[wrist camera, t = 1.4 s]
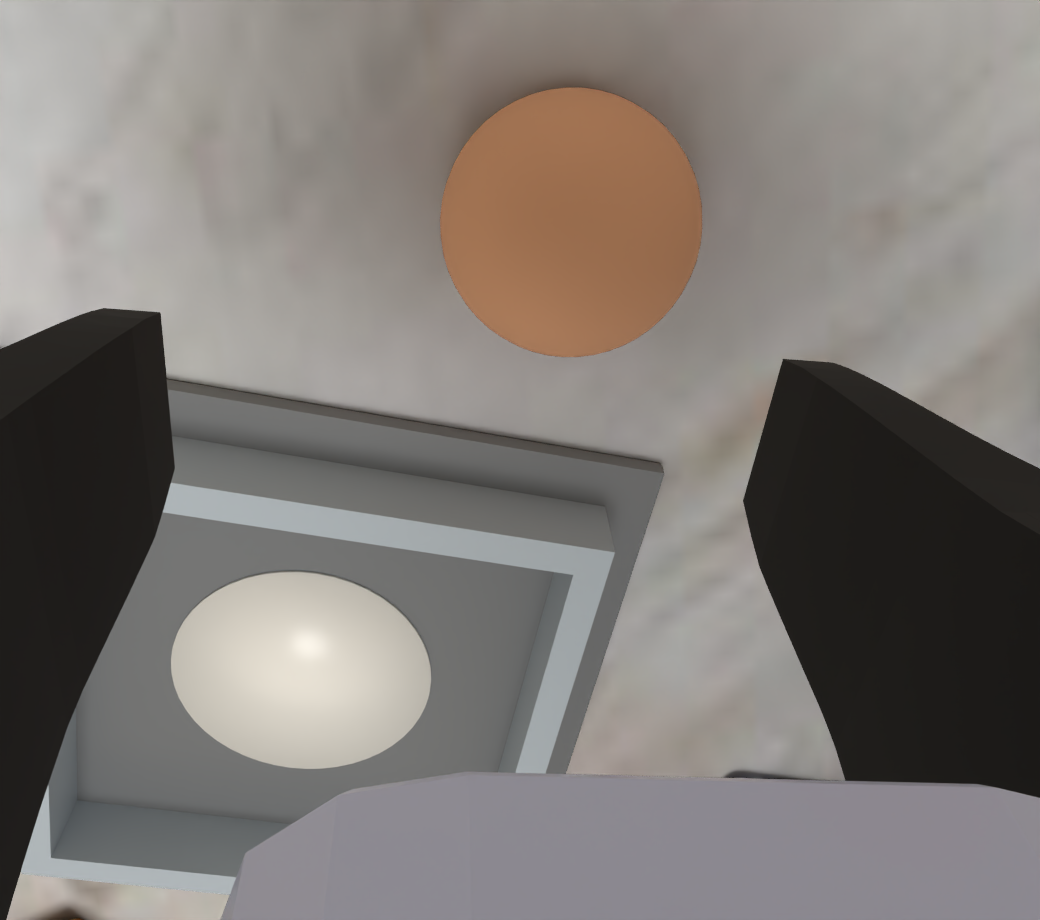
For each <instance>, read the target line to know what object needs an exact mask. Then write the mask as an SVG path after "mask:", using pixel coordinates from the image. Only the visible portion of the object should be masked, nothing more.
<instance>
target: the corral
mask: <svg viewBox="0 0 1040 920" xmlns="http://www.w3.org/2000/svg"><path fill="white" fill-rule="evenodd" d="M167 388H168V399H169V410H170V420H171V431H172V442H173V452H174V463H175V470H174V473H173V477H172V481H171V484H170V488H169V492H168V495H167V499H166V503H165V506H164V510H163V513H162V516H161V519H160V523H159V526H158V529H157V532H156V536H155V538H154V540H153V543H152V545H151V547H150V549H149V552H148V554H147V556H146V558H145V560H144V562H143V565H142V567H141V569H140V571H139V573H138V575H137V578H136V580H135V582H134V584H133V586H132V588H131V590H130V593H129V595H128V597H127V599H126V601H125V603H124V605H123V607H122V609H121V611H120V613H119V616H118V618H117V620H116V622H115V624H114V626H113V628H112V630H111V632H110V634H109V636H108V639H107V641H106V643H105V645H104V647H103V649H102V651H101V653H100V655H99V657H98V660H97V662H96V664H95V666H94V668H93V670H92V672H91V674H90V676H89V678H88V681H87V683H86V685H85V687H84V689H83V691H82V694H81V696H80V698H79V701H78V703H77V706H76V708H75V710H74V713H73V715H72V718H71V720H70V722H69V725H68V728H67V730H66V733H65V736H64V739H63V742H62V745H61V748H60V751H59V754H58V757H57V760H56V763H55V766H54V769H53V772H52V775H51V778H50V781H49V784H48V787H47V790H46V793H45V796H44V799H43V802H42V805H41V808H40V811H39V814H38V817H37V820H36V824H35V827H34V830H33V833H32V836H31V840H30V843H29V846H28V849H27V853H26V856H25V859H24V862H23V865H22V869H21V872H22V874H28V875H37V876H47V877H57V878H67V879H77V880H87V881H97V882H107V883H117V884H126V885H136V886H146V887H156V888H166V889H176V890H186V891H196V892H205V893H215V894H225V895H230V893H231V890H232V887H233V885H234V882H235V879H236V877H237V874H238V871H239V869H240V866H241V863H242V861H243V858H244V855H245V853H246V852H248V851H249V850H251V849H253V848H254V847H256V846H257V845H259V844H261V843H262V842H264V841H265V840H267V839H269V838H270V837H272V836H273V835H275V834H276V833H278V832H280V831H281V830H283V829H284V828H286V827H288V826H289V825H291V824H292V823H294V822H296V821H297V820H299V819H300V818H302V817H304V816H305V815H307V814H308V813H310V812H312V811H313V810H315V809H316V808H318V807H320V806H321V805H323V804H324V803H326V802H328V801H329V800H331V799H332V798H334V797H336V796H337V795H339V794H342V793H344V792H347V791H349V790H352V789H357V788H363V787H370V786H376V785H383V784H389V783H396V782H402V781H409V780H415V779H422V778H428V777H435V776H441V775H448V774H454V773H461V772H500V773H541V774H566V771H567V768H568V765H569V762H570V759H571V756H572V753H573V750H574V747H575V744H576V741H577V738H578V735H579V732H580V729H581V726H582V722H583V719H584V716H585V713H586V710H587V707H588V704H589V701H590V698H591V695H592V692H593V689H594V686H595V683H596V680H597V677H598V674H599V671H600V668H601V665H602V662H603V659H604V656H605V653H606V650H607V647H608V643H609V640H610V637H611V634H612V631H613V628H614V625H615V622H616V619H617V616H618V613H619V610H620V607H621V604H622V601H623V598H624V595H625V592H626V589H627V586H628V583H629V580H630V577H631V574H632V571H633V568H634V564H635V561H636V558H637V555H638V552H639V549H640V546H641V543H642V540H643V537H644V534H645V531H646V528H647V525H648V522H649V519H650V516H651V513H652V510H653V507H654V504H655V501H656V498H657V495H658V492H659V489H660V486H661V482H662V479H663V476H664V471H663V468H662V465H661V464H660V463H654V462H648V461H643V460H637V459H631V458H625V457H619V456H613V455H608V454H602V453H596V452H590V451H584V450H578V449H572V448H567V447H561V446H555V445H549V444H543V443H537V442H532V441H526V440H520V439H514V438H508V437H502V436H496V435H491V434H485V433H479V432H473V431H467V430H461V429H455V428H450V427H444V426H438V425H432V424H426V423H420V422H415V421H409V420H403V419H397V418H391V417H385V416H379V415H374V414H368V413H362V412H356V411H350V410H344V409H339V408H333V407H327V406H321V405H315V404H309V403H303V402H298V401H292V400H286V399H280V398H274V397H268V396H263V395H257V394H251V393H245V392H239V391H233V390H227V389H222V388H216V387H210V386H204V385H198V384H192V383H187V382H181V381H175V380H169V379H167Z"/></svg>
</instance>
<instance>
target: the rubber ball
mask: <svg viewBox="0 0 1040 920" xmlns="http://www.w3.org/2000/svg"><path fill="white" fill-rule="evenodd" d="M440 227H441V241H442V247H443V254H444V258H445V261H446V265H447V268H448V271H449V274H450V276H451V278H452V280H453V283H454V285H455V287H456V289H457V290H458V292H459V293H460V295H461V297H462V298H463V300H464V301H465V303H466V305H467V306H468V307H469V308H470V309H471V311H472V312H473V313H474V314H475V316H476V317H477V318H478V319H479V320H480V321H482V322H483V323H484V324H485V325H486V326H487V327H488V328H489V329H491V330H492V331H493V332H495V333H496V334H498V335H499V336H500V337H502V338H504V339H506V340H508V341H510V342H511V343H513V344H515V345H517V346H519V347H522V348H524V349H527V350H530V351H532V352H536V353H540V354H544V355H550V356H558V357H581V356H589V355H595V354H599V353H603V352H607V351H610V350H613V349H615V348H618V347H621V346H623V345H625V344H627V343H629V342H631V341H633V340H635V339H636V338H638V337H639V336H641V335H642V334H644V333H645V332H647V331H648V330H650V329H651V328H652V327H653V326H654V325H655V324H656V323H658V322H659V321H660V320H661V319H662V318H663V317H664V316H665V315H666V313H667V312H668V311H669V310H670V309H671V308H672V307H673V305H674V304H675V302H676V301H677V300H678V298H679V297H680V295H681V294H682V292H683V290H684V288H685V286H686V284H687V282H688V280H689V279H690V277H691V274H692V272H693V269H694V266H695V264H696V261H697V257H698V253H699V249H700V244H701V235H702V205H701V199H700V192H699V188H698V184H697V181H696V178H695V174H694V172H693V170H692V167H691V165H690V163H689V161H688V159H687V157H686V155H685V153H684V151H683V150H682V148H681V147H680V145H679V144H678V142H677V140H676V139H675V138H674V136H673V135H672V134H671V133H670V132H669V131H668V130H667V128H666V127H665V126H664V125H663V124H662V123H661V122H659V121H658V120H657V119H656V118H655V117H654V116H653V115H651V114H650V113H649V112H647V111H646V110H644V109H642V108H641V107H639V106H638V105H636V104H635V103H633V102H631V101H629V100H626V99H624V98H622V97H620V96H618V95H615V94H611V93H608V92H605V91H601V90H595V89H589V88H569V87H565V88H557V89H550V90H545V91H541V92H538V93H534V94H531V95H528V96H526V97H523V98H521V99H519V100H516V101H514V102H512V103H511V104H509V105H507V106H506V107H504V108H502V109H501V110H499V111H498V112H497V113H495V114H494V115H493V116H491V117H490V118H489V119H488V120H486V121H485V122H484V123H483V124H482V125H481V126H480V127H479V128H478V129H477V130H476V132H475V133H474V134H473V135H472V136H471V137H470V139H469V140H468V142H467V143H466V144H465V146H464V147H463V148H462V150H461V152H460V154H459V156H458V157H457V159H456V161H455V163H454V165H453V167H452V170H451V172H450V175H449V178H448V180H447V183H446V186H445V190H444V195H443V199H442V206H441V215H440Z"/></svg>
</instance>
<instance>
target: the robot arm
mask: <svg viewBox="0 0 1040 920" xmlns="http://www.w3.org/2000/svg"><path fill="white" fill-rule="evenodd" d="M174 470H175V463H174V452H173V442H172V431H171V420H170V410H169V399H168V388H167V378H166V367H165V357H164V346H163V335H162V325H161V314H160V312H147V311H133V310H120V309H106V308H103V309H99V310H95V311H91V312H88V313H85V314H82V315H79V316H77V317H74V318H71V319H69V320H66V321H64V322H62V323H59V324H57V325H55V326H52V327H50V328H48V329H45V330H43V331H41V332H39V333H36V334H34V335H32V336H29V337H27V338H25V339H23V340H20V341H18V342H16V343H14V344H11V345H9V346H7V347H5V348H2V349H0V920H6V919H7V915H8V912H9V908H10V905H11V901H12V898H13V894H14V891H15V888H16V885H17V882H18V878H19V875H20V872H21V869H22V865H23V862H24V859H25V856H26V853H27V849H28V846H29V843H30V840H31V836H32V833H33V830H34V827H35V824H36V820H37V817H38V814H39V811H40V808H41V805H42V802H43V799H44V796H45V793H46V790H47V787H48V784H49V781H50V778H51V775H52V772H53V769H54V766H55V763H56V760H57V757H58V754H59V751H60V748H61V745H62V742H63V739H64V736H65V733H66V730H67V728H68V725H69V722H70V720H71V718H72V715H73V713H74V710H75V708H76V706H77V703H78V701H79V698H80V696H81V694H82V691H83V689H84V687H85V685H86V683H87V681H88V678H89V676H90V674H91V672H92V670H93V668H94V666H95V664H96V662H97V660H98V657H99V655H100V653H101V651H102V649H103V647H104V645H105V643H106V641H107V639H108V636H109V634H110V632H111V630H112V628H113V626H114V624H115V622H116V620H117V618H118V616H119V613H120V611H121V609H122V607H123V605H124V603H125V601H126V599H127V597H128V595H129V593H130V590H131V588H132V586H133V584H134V582H135V580H136V578H137V575H138V573H139V571H140V569H141V567H142V565H143V562H144V560H145V558H146V556H147V554H148V552H149V549H150V547H151V545H152V543H153V540H154V538H155V536H156V532H157V529H158V526H159V523H160V519H161V516H162V513H163V510H164V506H165V503H166V499H167V495H168V492H169V488H170V484H171V481H172V477H173V473H174ZM743 502H744V506H745V511H746V515H747V519H748V524H749V528H750V532H751V537H752V541H753V544H754V548H755V552H756V555H757V559H758V563H759V566H760V569H761V571H762V574H763V576H764V579H765V581H766V584H767V586H768V589H769V591H770V593H771V596H772V598H773V600H774V603H775V605H776V608H777V610H778V612H779V615H780V617H781V619H782V622H783V624H784V626H785V629H786V631H787V633H788V635H789V638H790V640H791V642H792V645H793V647H794V649H795V651H796V654H797V656H798V658H799V661H800V663H801V665H802V668H803V670H804V672H805V674H806V677H807V679H808V681H809V684H810V686H811V688H812V690H813V693H814V695H815V697H816V700H817V702H818V704H819V707H820V709H821V711H822V713H823V716H824V719H825V721H826V724H827V727H828V729H829V732H830V734H831V737H832V740H833V742H834V745H835V748H836V751H837V754H838V757H839V761H840V764H841V767H842V771H843V774H844V777H845V781H830V780H788V779H750V778H706V777H665V776H624V775H582V774H541V773H500V772H461V773H454V774H448V775H441V776H435V777H428V778H422V779H415V780H409V781H402V782H396V783H389V784H383V785H376V786H370V787H363V788H357V789H352V790H349V791H347V792H344V793H342V794H339V795H337V796H336V797H334V798H332V799H331V800H329V801H328V802H326V803H324V804H323V805H321V806H320V807H318V808H316V809H315V810H313V811H312V812H310V813H308V814H307V815H305V816H304V817H302V818H300V819H299V820H297V821H296V822H294V823H292V824H291V825H289V826H288V827H286V828H284V829H283V830H281V831H280V832H278V833H276V834H275V835H273V836H272V837H270V838H269V839H267V840H265V841H264V842H262V843H261V844H259V845H257V846H256V847H254V848H253V849H251V850H249V851H248V852H246V853H245V855H244V858H243V861H242V863H241V866H240V869H239V871H238V874H237V877H236V879H235V882H234V885H233V887H232V890H231V893H230V896H229V898H228V901H227V904H226V906H225V909H224V912H223V914H222V917H221V920H1040V469H1039V468H1037V467H1035V466H1033V465H1031V464H1029V463H1027V462H1025V461H1023V460H1021V459H1019V458H1017V457H1015V456H1013V455H1011V454H1009V453H1007V452H1005V451H1003V450H1001V449H999V448H997V447H995V446H994V445H992V444H990V443H988V442H986V441H984V440H982V439H980V438H978V437H977V436H975V435H973V434H971V433H969V432H967V431H965V430H964V429H962V428H960V427H958V426H956V425H955V424H953V423H951V422H949V421H947V420H945V419H944V418H942V417H940V416H938V415H936V414H935V413H933V412H931V411H929V410H927V409H926V408H924V407H922V406H920V405H919V404H917V403H915V402H913V401H911V400H909V399H908V398H906V397H904V396H902V395H900V394H899V393H897V392H895V391H893V390H891V389H889V388H888V387H886V386H884V385H882V384H880V383H878V382H876V381H874V380H872V379H870V378H868V377H866V376H864V375H862V374H860V373H858V372H856V371H853V370H851V369H849V368H846V367H843V366H841V365H838V364H835V363H829V362H816V361H803V360H789V359H783V361H782V365H781V368H780V372H779V375H778V379H777V382H776V386H775V390H774V393H773V397H772V400H771V404H770V407H769V411H768V414H767V418H766V422H765V425H764V429H763V432H762V436H761V439H760V443H759V446H758V450H757V453H756V457H755V461H754V464H753V468H752V471H751V475H750V478H749V482H748V485H747V489H746V493H745V496H744V500H743Z"/></svg>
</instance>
